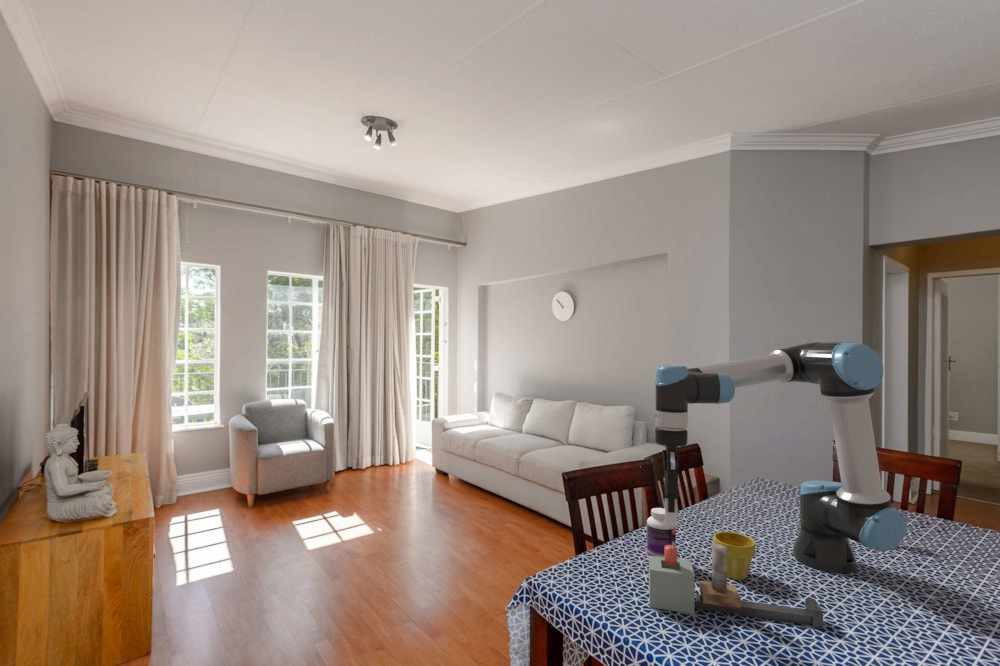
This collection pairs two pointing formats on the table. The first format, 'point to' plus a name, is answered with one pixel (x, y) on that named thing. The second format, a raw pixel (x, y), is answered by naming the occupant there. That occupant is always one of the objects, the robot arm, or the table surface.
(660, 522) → the pill bottle
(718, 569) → the carriage
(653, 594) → the switch box
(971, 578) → the table surface
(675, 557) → the plunger
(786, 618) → the rail
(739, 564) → the plant pot
